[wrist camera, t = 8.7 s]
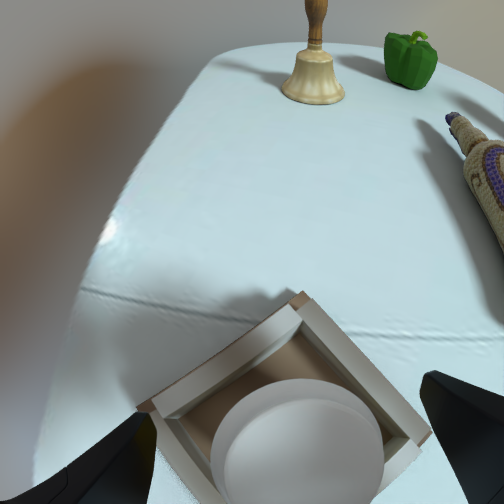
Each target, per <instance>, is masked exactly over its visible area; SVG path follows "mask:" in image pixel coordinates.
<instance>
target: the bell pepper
mask: <svg viewBox="0 0 504 504" xmlns="http://www.w3.org/2000/svg"><path fill="white" fill-rule="evenodd" d="M419 36H420V37H421V38H422V39H423V40H425V39H427V38H428V36H427V35H426V34H425V33H423V32H421V31H415V32H413V34H412V36H410V35H399V34H396V33H388V34H387V36H386V37H385V44H384V61H385V70H386V74H387V76H388V78H389V79H390V80H391V81H393V82H396V83H400V84H403V85H404V86H406V87H408V88H410V89H415V90H420V89H422V88H423V87H425V86H426V84H427V83H428V81H429V80H430V78H431V76H432V74H433V72H434V71H435V68H436V64H437V60H438V57H437V52H436V51H435V50H434V49H433V48H432V47H431V46H430V44H429V43H428V42H426V41H417V38H418V37H419Z"/></svg>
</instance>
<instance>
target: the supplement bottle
mask: <svg viewBox="0 0 504 504" xmlns="http://www.w3.org/2000/svg"><path fill="white" fill-rule="evenodd" d="M210 461H211V470H212V476H213V479H214V482H215V484H216V487H217V489H218V491H219V492H220V494H221V496H222V497H223V499H224V500H225V501H226V502H227V504H370V502H371V501H372V500H373V498H374V497H375V495H376V493H377V491H378V489H379V487H380V484H381V481H382V478H383V473H384V463H385V461H384V451H383V442H382V435H381V431H380V428H379V425H378V423H377V421H376V419H375V417H374V415H373V414H372V412H371V411H370V409H369V408H368V407H367V406H366V405H365V403H364V402H363V401H362V400H360V399H359V398H358V397H357V396H356V395H354V394H353V393H351V392H350V391H348V390H346V389H345V388H343V387H341V386H338V385H335V384H333V383H329V382H325V381H321V380H314V379H290V380H283V381H279V382H275V383H272V384H269V385H266V386H264V387H262V388H259V389H257V390H255V391H254V392H252V393H250V394H249V395H247V396H246V397H244V398H243V399H242V400H240V401H239V402H238V403H237V404H236V405H235V406H234V407H233V408H232V409H231V410H230V411H229V412H228V413H227V414H226V416H225V417H224V419H223V420H222V422H221V424H220V425H219V427H218V429H217V431H216V434H215V436H214V439H213V443H212V448H211V456H210Z"/></svg>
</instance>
